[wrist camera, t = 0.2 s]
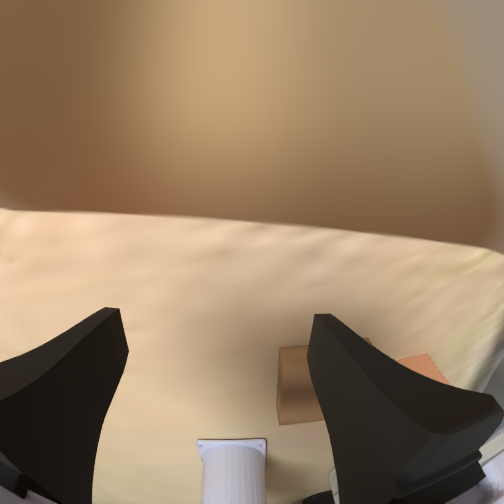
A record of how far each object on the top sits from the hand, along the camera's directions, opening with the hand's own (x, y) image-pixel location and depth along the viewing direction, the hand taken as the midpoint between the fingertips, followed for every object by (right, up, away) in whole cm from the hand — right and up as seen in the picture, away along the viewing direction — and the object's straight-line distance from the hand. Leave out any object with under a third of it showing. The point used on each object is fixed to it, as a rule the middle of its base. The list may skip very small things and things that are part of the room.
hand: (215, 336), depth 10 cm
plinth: (+8, -8, +14) cm, 18 cm away
